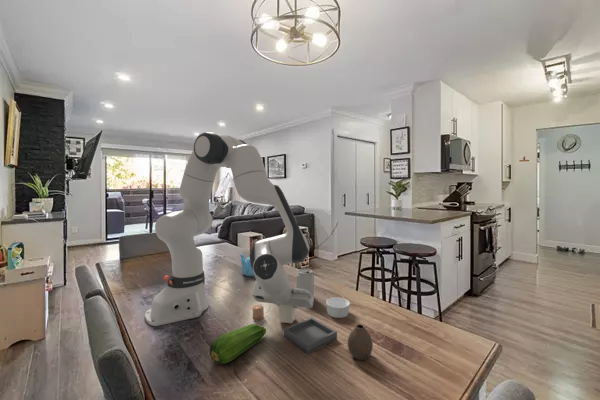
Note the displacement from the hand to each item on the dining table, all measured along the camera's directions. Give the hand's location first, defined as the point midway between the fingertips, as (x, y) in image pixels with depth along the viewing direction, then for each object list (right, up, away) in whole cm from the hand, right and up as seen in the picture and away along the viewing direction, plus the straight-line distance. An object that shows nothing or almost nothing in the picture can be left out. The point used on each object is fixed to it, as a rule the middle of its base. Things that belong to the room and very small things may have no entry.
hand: (288, 305), depth 101 cm
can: (+6, -4, +19) cm, 20 cm away
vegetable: (-13, -7, -17) cm, 23 cm away
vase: (+21, -7, -20) cm, 30 cm away
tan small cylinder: (-11, -6, +2) cm, 12 cm away
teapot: (-21, -2, +52) cm, 56 cm away
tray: (+7, -6, -11) cm, 15 cm away
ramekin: (+19, -5, +6) cm, 20 cm away
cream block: (0, -5, 0) cm, 5 cm away
